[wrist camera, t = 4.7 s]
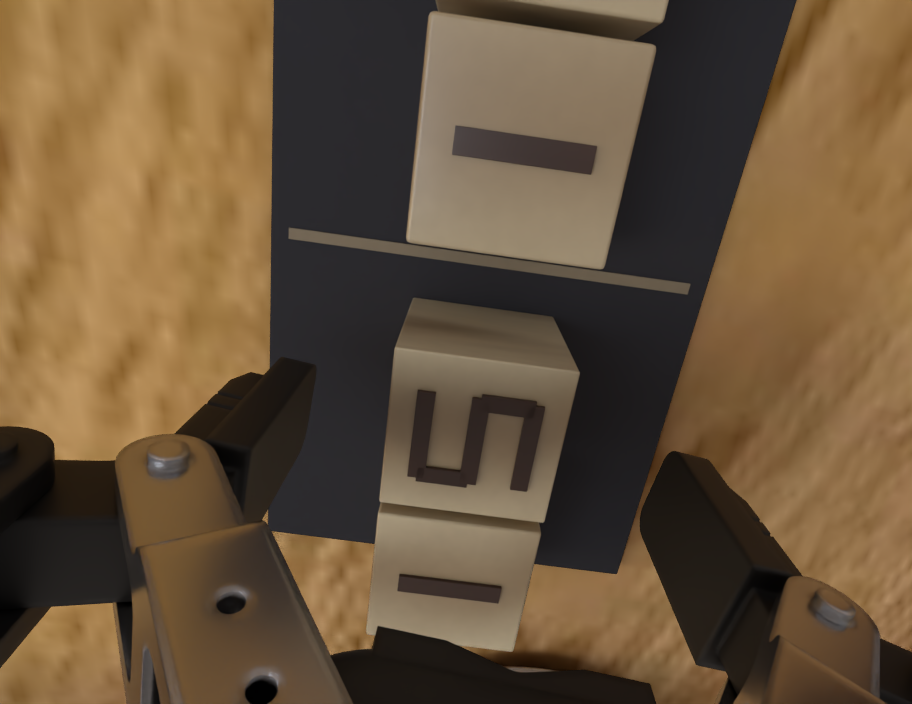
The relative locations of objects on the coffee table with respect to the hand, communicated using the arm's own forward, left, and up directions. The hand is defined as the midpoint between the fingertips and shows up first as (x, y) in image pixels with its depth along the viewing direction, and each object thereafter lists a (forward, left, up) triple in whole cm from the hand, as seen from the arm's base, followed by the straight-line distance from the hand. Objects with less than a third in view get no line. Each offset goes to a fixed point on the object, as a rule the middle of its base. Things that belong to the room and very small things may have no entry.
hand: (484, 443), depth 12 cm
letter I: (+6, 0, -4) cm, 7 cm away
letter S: (0, 0, -4) cm, 4 cm away
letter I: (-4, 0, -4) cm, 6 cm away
